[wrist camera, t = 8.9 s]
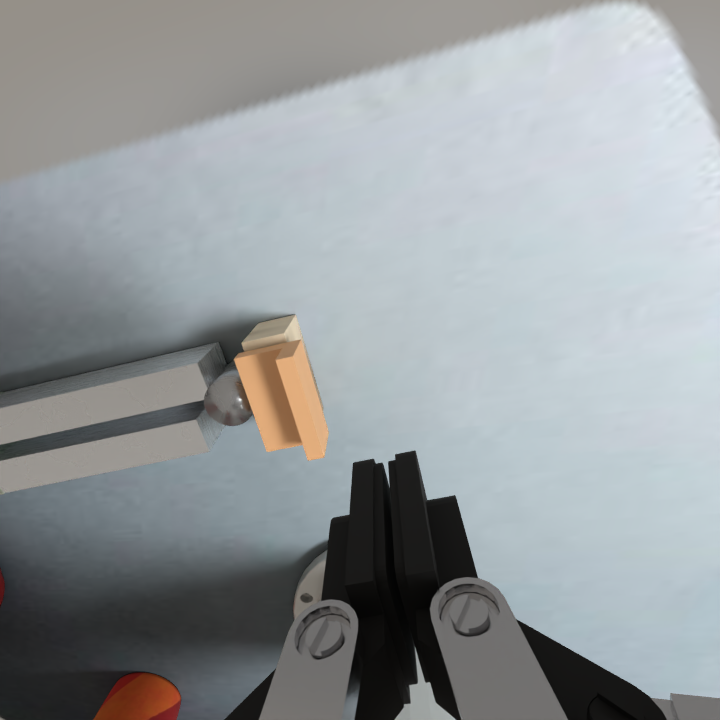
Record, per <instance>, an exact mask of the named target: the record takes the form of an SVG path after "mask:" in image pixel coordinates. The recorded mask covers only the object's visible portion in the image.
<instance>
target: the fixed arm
mask: <svg viewBox="0 0 720 720" xmlns="http://www.w3.org/2000/svg"><path fill="white" fill-rule="evenodd" d="M225 426H226V425H223V424H221V423H218V422H217V421H215V420H214V419H213V418H211V417H210V415H209V414H208V413H207V411H206V409H205V406H204V400H201V401H196V402H192V403H187V404H183V405H178V406H174V407H169V408H165V409H160V410H155V411H151V412H146V413H142V414H137V415H133V416H128V417H124V418H119V419H115V420H110V421H106V422H101V423H96V424H92V425H87V426H83V427H78V428H74V429H69V430H65V431H60V432H56V433H51V434H46V435H42V436H37V437H33V438H28V439H24V440H19V441H15V442H10V443H6V444H1V445H0V495H1V494H5V493H7V492H12V491H17V490H22V489H27V488H32V487H37V486H42V485H47V484H52V483H57V482H62V481H67V480H72V479H77V478H82V477H87V476H92V475H96V474H101V473H106V472H111V471H116V470H121V469H126V468H131V467H136V466H141V465H146V464H151V463H156V462H161V461H166V460H171V459H176V458H181V457H186V456H191V455H196V454H201V453H205V452H209V451H210V450H211V448H212V447H213V445H214V443H215V442H216V440H217V439H218V437H219V435H220V434H221V432H222V431H223V429H224V427H225Z"/></svg>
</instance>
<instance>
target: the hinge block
mask: <svg viewBox="0 0 720 720" xmlns="http://www.w3.org/2000/svg"><path fill="white" fill-rule="evenodd" d="M300 339H301V340H302V344H303V347H304V350H305V354H306V357H307V361H308V364H309V367H310V371H311V374H312V377H313V381H314V384H315V387H316V391H317V394H318V397H319V401H320V404H321V408H322V411H323V405H322V402H321V398H320V395H319V391H318V388H317V385H316V381H315V378H314V375H313V371H312V368H311V364H310V361H309V358H308V354H307V351H306V348H305V344H304V341H303V337H302V334H301V331H300V327H299V324H298V321H297V317H296V315H291V316H287V317H283V318H278V319H274V320H269V321H265V322H261V323H258V324H257V325H256V327H255V328H254V329H253V330H252V331H251V332H250V333H249V335H248V336H247V337H246V338H245V339H244V340H243V342H242V346H243V349H244V352H247V351H251V350H256V349H260V348H264V347H269V346H273V345H278V344H282V343H287V342H291V341H296V340H300Z"/></svg>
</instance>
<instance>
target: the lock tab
mask: <svg viewBox="0 0 720 720" xmlns="http://www.w3.org/2000/svg"><path fill="white" fill-rule="evenodd" d="M234 361H235V364H236V367H237V369H238V372H239V375H240V378H241V381H242V383H243V386H244V389H245V392H246V395H247V397H248V400H249V403H250V406H251V409H252V411H253V414H254V417H255V420H256V423H257V425H258V428H259V431H260V434H261V437H262V439H263V442H264V445H265V448H266V451H267V452H270V451H275V450H280V449H285V448H290V447H295V446H300V445H303V447H304V450H305V453H306V456H307V459H308V461H309V460H314V459H319V458H324V456H325V451H326V445H327V439H328V434H329V431H328V428H327V424H326V421H325V418H324V414H323V411H322V408H321V404H320V401H319V397H318V394H317V391H316V387H315V384H314V381H313V377H312V374H311V371H310V367H309V364H308V361H307V357H306V354H305V350H304V347H303V344H302V340H301V339H300V340H296V341H291V342H287V343H282V344H278V345H273V346H269V347H264V348H260V349H256V350H251V351H247V352H242V353H238V354H237V356H236V357H235V358H234Z"/></svg>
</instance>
